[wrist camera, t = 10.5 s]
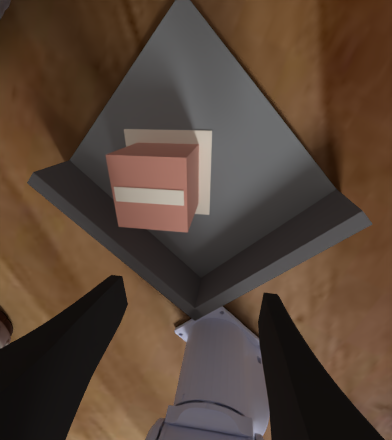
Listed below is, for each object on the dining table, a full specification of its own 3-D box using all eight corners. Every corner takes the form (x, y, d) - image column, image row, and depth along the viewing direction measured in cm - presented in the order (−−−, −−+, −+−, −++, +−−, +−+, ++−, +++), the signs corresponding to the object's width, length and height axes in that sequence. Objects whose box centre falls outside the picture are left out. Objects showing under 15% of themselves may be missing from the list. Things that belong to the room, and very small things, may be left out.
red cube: (198, 144, 17) (186, 158, 13) (198, 203, 19) (187, 233, 15) (137, 142, 18) (104, 155, 13) (144, 200, 20) (118, 227, 16)
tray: (341, 197, 18) (372, 223, 14) (201, 285, 25) (194, 321, 21) (184, -6, 14) (162, -52, 10) (67, 167, 21) (27, 183, 17)
